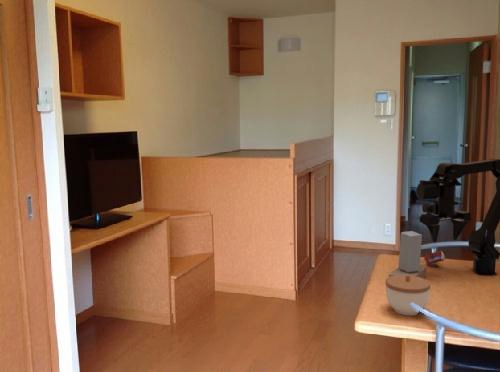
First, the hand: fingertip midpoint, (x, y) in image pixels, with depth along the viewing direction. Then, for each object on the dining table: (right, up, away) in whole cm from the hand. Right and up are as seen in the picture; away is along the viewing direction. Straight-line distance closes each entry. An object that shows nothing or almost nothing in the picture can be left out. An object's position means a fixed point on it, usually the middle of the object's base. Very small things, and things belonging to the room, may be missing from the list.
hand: (444, 240), depth 169 cm
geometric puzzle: (+1, -12, +14) cm, 18 cm away
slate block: (-14, -10, -4) cm, 17 cm away
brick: (-14, -14, -3) cm, 21 cm away
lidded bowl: (-23, -18, -29) cm, 41 cm away
